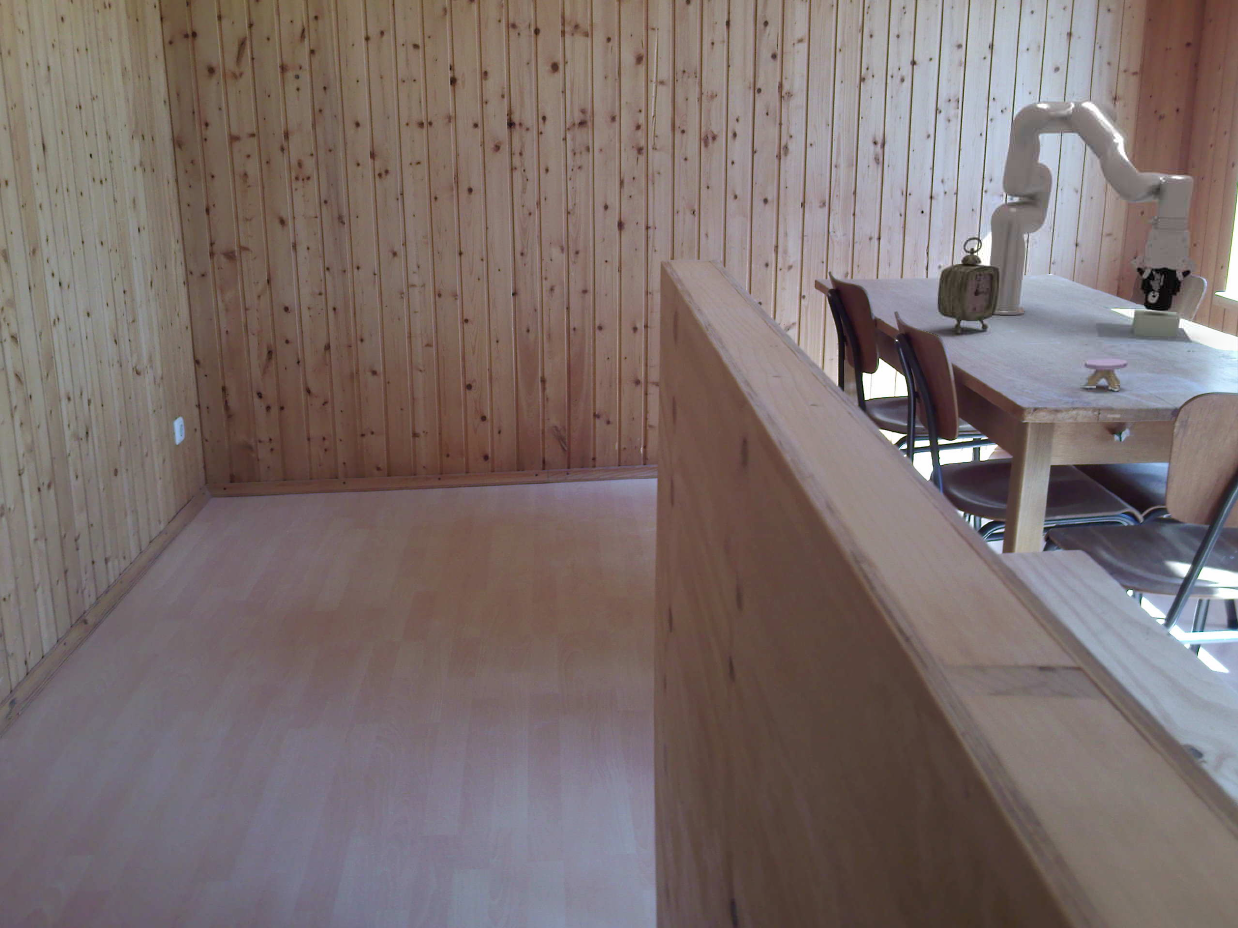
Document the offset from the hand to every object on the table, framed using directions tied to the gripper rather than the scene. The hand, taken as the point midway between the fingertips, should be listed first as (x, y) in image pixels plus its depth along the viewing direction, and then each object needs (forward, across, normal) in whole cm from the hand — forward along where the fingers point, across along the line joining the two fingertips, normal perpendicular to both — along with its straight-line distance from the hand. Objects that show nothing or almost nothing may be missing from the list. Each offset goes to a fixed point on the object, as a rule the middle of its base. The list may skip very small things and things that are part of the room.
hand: (1159, 293), depth 294 cm
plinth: (+10, 0, 0) cm, 10 cm away
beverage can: (+4, 0, 0) cm, 4 cm away
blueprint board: (+11, -3, 0) cm, 12 cm away
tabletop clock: (+12, -48, -10) cm, 50 cm away
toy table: (+12, -15, -64) cm, 67 cm away
